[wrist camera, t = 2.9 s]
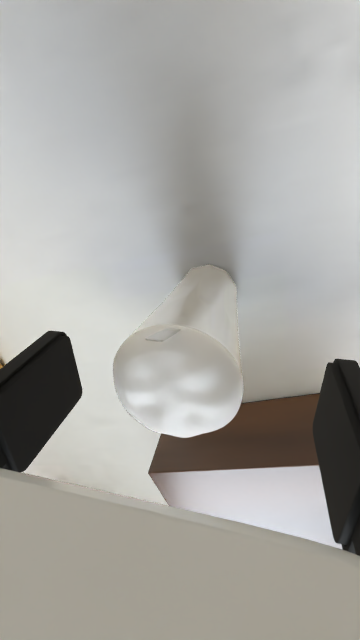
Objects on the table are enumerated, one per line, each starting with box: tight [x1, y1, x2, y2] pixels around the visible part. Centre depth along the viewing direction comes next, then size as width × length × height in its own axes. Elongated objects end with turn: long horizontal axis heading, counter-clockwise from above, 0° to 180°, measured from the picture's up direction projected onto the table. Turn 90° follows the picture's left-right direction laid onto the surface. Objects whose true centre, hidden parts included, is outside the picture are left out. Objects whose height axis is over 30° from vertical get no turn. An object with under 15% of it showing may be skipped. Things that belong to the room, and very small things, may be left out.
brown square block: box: [148, 394, 343, 550], centre depth 21 cm, size 11×11×5 cm
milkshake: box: [113, 264, 244, 438], centre depth 12 cm, size 5×5×10 cm
